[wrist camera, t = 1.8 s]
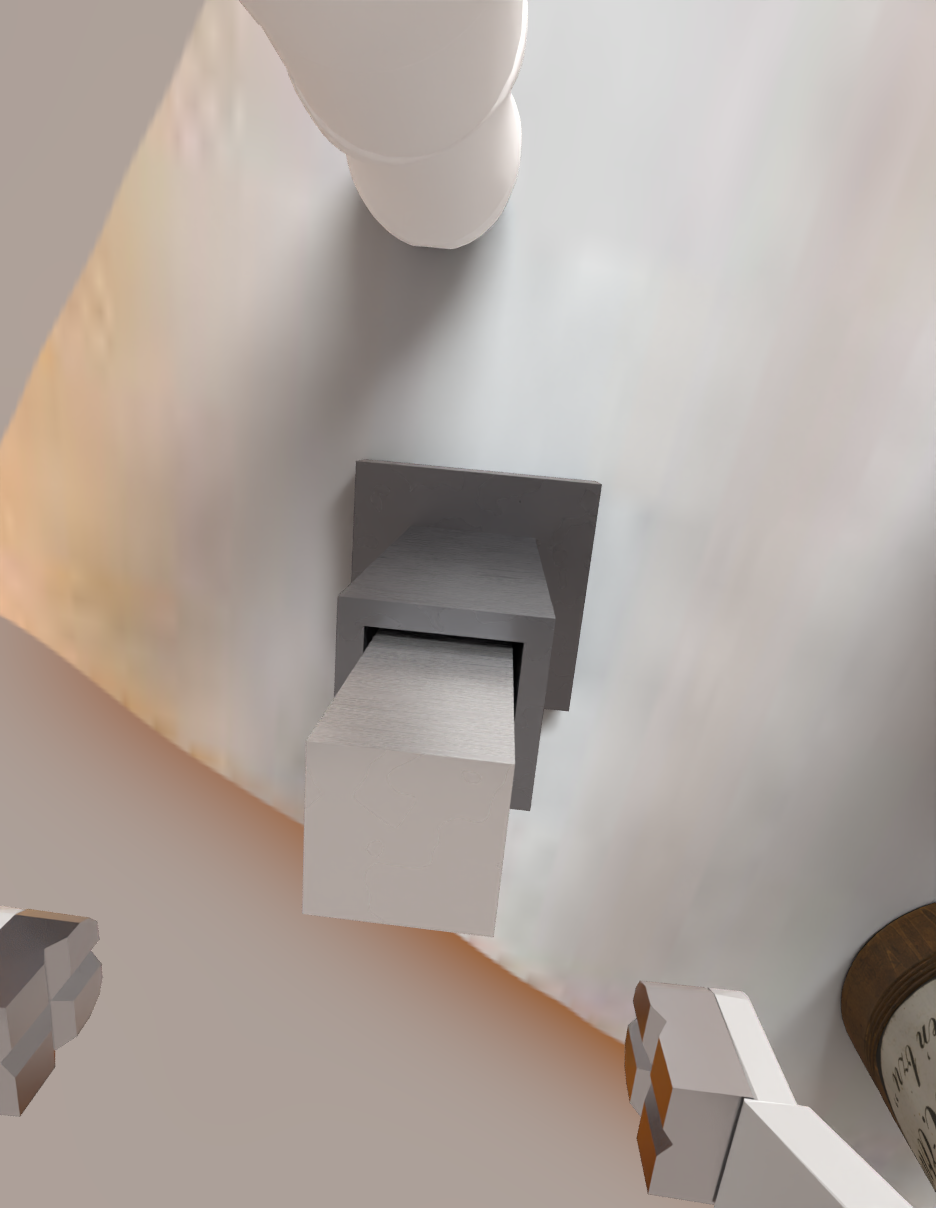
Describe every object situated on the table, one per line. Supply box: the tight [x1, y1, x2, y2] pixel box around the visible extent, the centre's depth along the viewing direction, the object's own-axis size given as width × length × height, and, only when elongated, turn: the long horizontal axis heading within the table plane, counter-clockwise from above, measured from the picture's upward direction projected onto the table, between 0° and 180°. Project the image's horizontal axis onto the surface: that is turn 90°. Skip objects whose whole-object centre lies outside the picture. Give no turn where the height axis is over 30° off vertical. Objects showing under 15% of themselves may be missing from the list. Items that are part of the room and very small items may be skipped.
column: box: [302, 628, 515, 937], centre depth 22 cm, size 4×4×20 cm
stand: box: [334, 459, 602, 811], centre depth 26 cm, size 12×12×17 cm
